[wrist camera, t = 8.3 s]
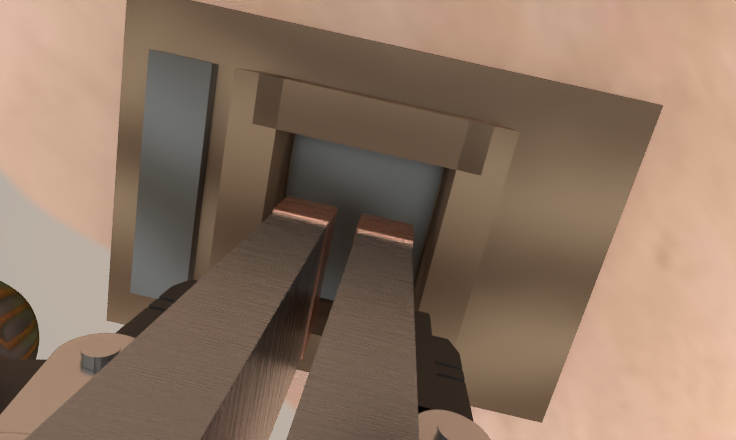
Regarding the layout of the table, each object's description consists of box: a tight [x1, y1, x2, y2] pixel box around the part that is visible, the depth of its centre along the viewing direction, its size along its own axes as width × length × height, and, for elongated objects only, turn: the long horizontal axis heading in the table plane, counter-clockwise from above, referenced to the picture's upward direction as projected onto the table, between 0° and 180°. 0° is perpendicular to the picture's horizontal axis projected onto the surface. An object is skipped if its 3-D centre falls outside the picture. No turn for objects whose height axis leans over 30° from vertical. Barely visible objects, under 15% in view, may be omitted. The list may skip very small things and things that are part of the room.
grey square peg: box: [24, 196, 419, 440], centre depth 8 cm, size 4×4×13 cm
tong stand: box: [107, 0, 663, 423], centre depth 18 cm, size 14×20×4 cm
